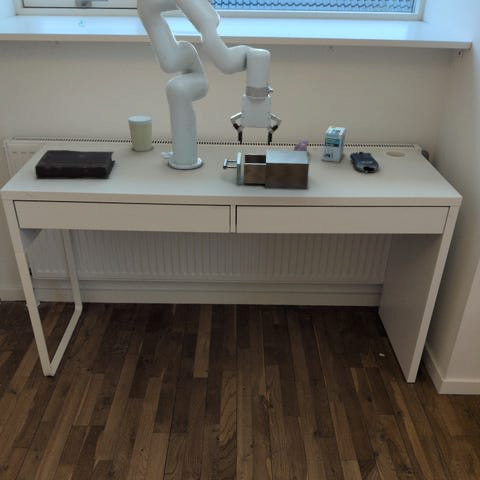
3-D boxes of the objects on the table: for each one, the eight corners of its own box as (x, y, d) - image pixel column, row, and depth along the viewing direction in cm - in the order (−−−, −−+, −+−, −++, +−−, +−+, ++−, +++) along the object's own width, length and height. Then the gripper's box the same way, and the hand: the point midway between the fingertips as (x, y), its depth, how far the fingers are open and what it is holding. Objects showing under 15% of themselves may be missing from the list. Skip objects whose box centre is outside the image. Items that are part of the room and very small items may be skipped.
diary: (107, 179, 194) (105, 166, 191) (37, 179, 193) (34, 166, 190) (115, 162, 209) (114, 149, 206) (50, 162, 208) (48, 149, 205)
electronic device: (346, 164, 214) (357, 172, 201) (349, 149, 212) (360, 156, 199) (368, 166, 216) (380, 175, 202) (372, 152, 213) (384, 159, 200)
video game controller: (300, 162, 216) (309, 147, 212) (290, 156, 216) (299, 141, 212) (302, 154, 224) (311, 139, 220) (293, 148, 224) (302, 133, 219)
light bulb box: (339, 162, 212) (342, 134, 205) (322, 160, 213) (325, 133, 207) (343, 154, 220) (346, 127, 214) (326, 152, 222) (329, 125, 215)
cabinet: (265, 188, 189) (266, 162, 184) (265, 174, 200) (266, 150, 195) (306, 189, 188) (309, 163, 183) (304, 175, 200) (306, 151, 194)
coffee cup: (158, 146, 225) (155, 117, 218) (146, 153, 218) (143, 122, 211) (139, 143, 228) (136, 114, 221) (126, 149, 221) (123, 119, 214)
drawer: (222, 184, 189) (222, 163, 185) (224, 171, 199) (224, 152, 195) (275, 185, 189) (276, 164, 184) (274, 173, 199) (275, 153, 195)
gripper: (283, 89, 180) (279, 141, 190) (231, 87, 180) (230, 139, 190) (283, 95, 174) (280, 148, 184) (230, 93, 174) (229, 146, 184)
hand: (254, 143), depth 187 cm, fingers open, 9 cm apart
